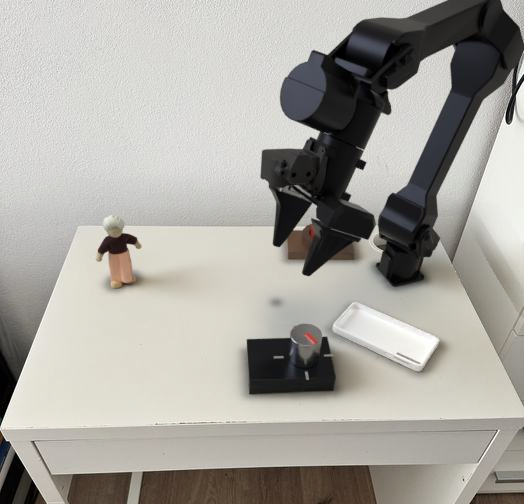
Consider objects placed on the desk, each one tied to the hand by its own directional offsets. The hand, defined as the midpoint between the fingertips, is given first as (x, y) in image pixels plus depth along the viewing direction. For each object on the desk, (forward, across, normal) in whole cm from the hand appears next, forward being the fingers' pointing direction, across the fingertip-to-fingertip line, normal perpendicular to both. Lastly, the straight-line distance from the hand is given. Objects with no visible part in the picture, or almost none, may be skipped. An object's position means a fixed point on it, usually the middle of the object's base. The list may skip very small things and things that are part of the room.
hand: (290, 260), depth 70 cm
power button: (+1, -23, +19) cm, 30 cm away
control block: (+4, -24, +20) cm, 32 cm away
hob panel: (+16, +1, +7) cm, 17 cm away
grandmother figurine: (+19, -28, -11) cm, 35 cm away
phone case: (+8, 0, +22) cm, 23 cm away
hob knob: (+12, +3, +7) cm, 15 cm away
